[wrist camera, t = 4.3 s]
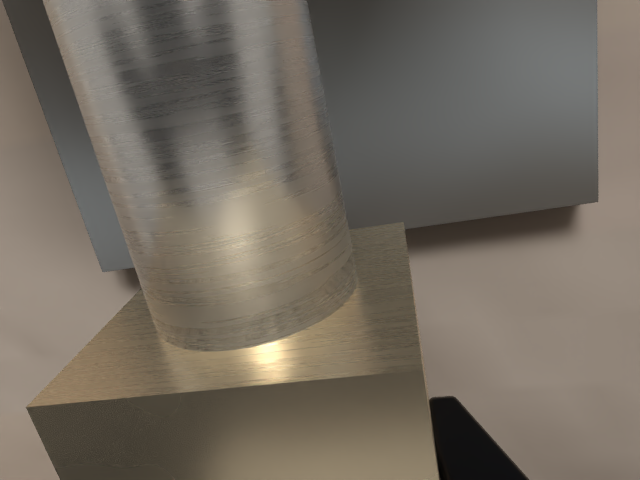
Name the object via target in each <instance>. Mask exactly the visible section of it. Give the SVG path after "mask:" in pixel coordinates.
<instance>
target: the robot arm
mask: <svg viewBox="0 0 640 480" xmlns="http://www.w3.org/2000/svg"><path fill="white" fill-rule="evenodd" d="M429 403H430V411H431V418H432V426H433V433H434V440H435V448H436V455H437V462H438V469H439V476H440V480H529V479H528V478H527V477H526V476H525V474H524V473H523V472H522V471H521V470H520V469H519V468H518V467H517V465H516V464H515V463H514V462H513V461H512V460H511V459H510V458H509V457H508V455H507V454H506V453H505V452H504V451H503V450H502V449H501V448H500V446H499V445H498V444H497V443H496V442H495V441H494V440H493V439H492V438H491V436H490V435H489V434H488V433H487V432H486V431H485V430H484V429H483V427H482V426H481V425H480V424H479V423H478V422H477V421H476V420H475V418H474V417H473V416H472V415H471V414H470V413H469V412H468V411H467V410H466V408H465V407H464V406H463V405H462V404H461V403H460V402H459V401H458V400H457V399H456V398H455V397H453V396H445V397H433V398H431V399H430V400H429Z"/></svg>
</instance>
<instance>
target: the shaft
mask: <svg viewBox="0 0 640 480" xmlns="http://www.w3.org/2000/svg"><path fill="white" fill-rule="evenodd" d="M43 3H44V6H45V9H46V12H47V15H48V18H49V21H50V24H51V26H52V29H53V32H54V35H55V38H56V41H57V44H58V47H59V50H60V53H61V55H62V58H63V61H64V64H65V67H66V70H67V73H68V76H69V79H70V82H71V84H72V87H73V90H74V93H75V96H76V99H77V102H78V105H79V108H80V111H81V113H82V116H83V119H84V122H85V125H86V128H87V131H88V134H89V137H90V140H91V142H92V145H93V148H94V151H95V154H96V157H97V160H98V163H99V166H100V169H101V172H102V174H103V177H104V180H105V183H106V186H107V189H108V192H109V195H110V198H111V201H112V203H113V206H114V209H115V212H116V215H117V218H118V221H119V224H120V227H121V230H122V232H123V235H124V238H125V241H126V244H127V247H128V250H129V253H130V256H131V259H132V261H133V264H134V267H135V270H136V273H137V276H138V279H139V282H140V285H141V289H140V290H139V291H138V292H137V294H136V295H135V296H134V297H133V298H132V299H131V300H130V301H129V302H128V303H127V304H126V305H125V306H124V307H123V308H122V309H121V310H120V311H119V312H118V313H117V314H116V315H115V316H114V317H113V318H112V319H111V320H110V321H109V322H108V323H107V324H106V325H105V326H104V327H103V329H102V330H101V331H100V332H99V333H98V334H97V335H96V336H95V337H94V338H93V339H92V340H91V341H90V342H89V343H88V344H87V345H86V346H85V347H84V348H83V349H82V350H81V351H80V352H79V353H78V354H77V355H76V356H75V357H74V358H73V359H72V360H71V361H70V362H69V364H68V365H67V366H66V367H65V368H64V369H63V370H62V371H61V372H60V373H59V374H58V375H57V376H56V377H55V378H54V379H53V380H52V381H51V382H50V383H49V384H48V385H47V386H46V387H45V388H44V389H43V390H42V391H41V392H40V393H39V394H38V395H37V396H36V398H35V399H34V400H33V401H32V402H31V403H30V404H29V405H28V406H27V407H26V408H27V410H28V413H29V415H30V417H31V419H32V421H33V423H34V425H35V427H36V429H37V432H38V434H39V436H40V438H41V440H42V442H43V444H44V446H45V449H46V451H47V453H48V455H49V457H50V459H51V461H52V463H53V465H54V468H55V470H56V472H57V474H58V476H59V478H60V480H440V476H439V469H438V462H437V455H436V448H435V440H434V433H433V426H432V418H431V411H430V403H429V395H428V388H427V381H426V374H425V367H424V360H423V353H422V347H421V340H420V333H419V326H418V319H417V312H416V305H415V298H414V291H413V284H412V277H411V270H410V263H409V256H408V249H407V242H406V235H405V228H404V222H400V223H393V224H386V225H379V226H372V227H365V228H358V229H352V230H349V227H348V221H347V216H346V210H345V205H344V199H343V194H342V188H341V183H340V178H339V172H338V167H337V161H336V156H335V150H334V145H333V139H332V134H331V128H330V123H329V117H328V112H327V107H326V101H325V96H324V90H323V85H322V79H321V74H320V68H319V63H318V57H317V52H316V46H315V41H314V36H313V30H312V25H311V19H310V14H309V8H308V3H307V0H43Z"/></svg>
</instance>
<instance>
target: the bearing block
mask: <svg viewBox="0 0 640 480" xmlns="http://www.w3.org/2000/svg"><path fill="white" fill-rule="evenodd" d="M2 1H3V4H4V7H5V9H6V12H7V15H8V17H9V20H10V23H11V25H12V28H13V31H14V34H15V36H16V39H17V42H18V44H19V47H20V50H21V53H22V55H23V58H24V61H25V63H26V66H27V69H28V72H29V74H30V77H31V80H32V82H33V85H34V88H35V90H36V93H37V96H38V99H39V101H40V104H41V107H42V109H43V112H44V115H45V118H46V120H47V123H48V126H49V128H50V131H51V134H52V137H53V139H54V142H55V145H56V147H57V150H58V153H59V155H60V158H61V161H62V164H63V166H64V169H65V172H66V174H67V177H68V180H69V183H70V185H71V188H72V191H73V193H74V196H75V199H76V202H77V204H78V207H79V210H80V212H81V215H82V218H83V220H84V223H85V226H86V229H87V231H88V234H89V237H90V239H91V242H92V245H93V248H94V250H95V253H96V256H97V258H98V261H99V264H100V266H101V269H102V272H107V271H114V270H121V269H128V268H135V267H134V264H133V261H132V259H131V256H130V253H129V250H128V247H127V244H126V241H125V238H124V235H123V232H122V230H121V227H120V224H119V221H118V218H117V215H116V212H115V209H114V206H113V203H112V201H111V198H110V195H109V192H108V189H107V186H106V183H105V180H104V177H103V174H102V172H101V169H100V166H99V163H98V160H97V157H96V154H95V151H94V148H93V145H92V142H91V140H90V137H89V134H88V131H87V128H86V125H85V122H84V119H83V116H82V113H81V111H80V108H79V105H78V102H77V99H76V96H75V93H74V90H73V87H72V84H71V82H70V79H69V76H68V73H67V70H66V67H65V64H64V61H63V58H62V55H61V53H60V50H59V47H58V44H57V41H56V38H55V35H54V32H53V29H52V26H51V24H50V21H49V18H48V15H47V12H46V9H45V6H44V3H43V0H2ZM307 3H308V8H309V14H310V19H311V25H312V30H313V36H314V41H315V46H316V52H317V57H318V63H319V68H320V74H321V79H322V85H323V90H324V96H325V101H326V107H327V112H328V117H329V123H330V128H331V134H332V139H333V145H334V150H335V156H336V161H337V167H338V172H339V178H340V183H341V188H342V194H343V199H344V205H345V210H346V216H347V221H348V227H349V230H352V229H358V228H365V227H372V226H379V225H386V224H393V223H400V222H404V228H405V229H410V228H418V227H425V226H432V225H439V224H446V223H453V222H460V221H467V220H474V219H481V218H488V217H495V216H502V215H509V214H516V213H523V212H530V211H538V210H545V209H552V208H559V207H566V206H573V205H580V204H587V203H594V202H598V66H597V0H307Z"/></svg>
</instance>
